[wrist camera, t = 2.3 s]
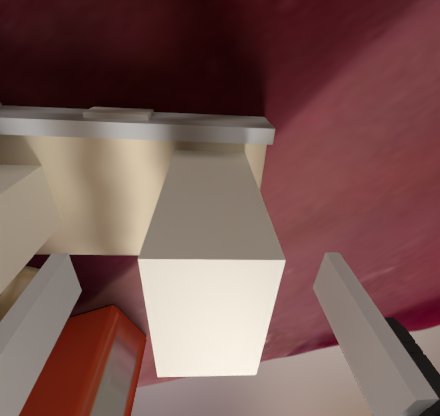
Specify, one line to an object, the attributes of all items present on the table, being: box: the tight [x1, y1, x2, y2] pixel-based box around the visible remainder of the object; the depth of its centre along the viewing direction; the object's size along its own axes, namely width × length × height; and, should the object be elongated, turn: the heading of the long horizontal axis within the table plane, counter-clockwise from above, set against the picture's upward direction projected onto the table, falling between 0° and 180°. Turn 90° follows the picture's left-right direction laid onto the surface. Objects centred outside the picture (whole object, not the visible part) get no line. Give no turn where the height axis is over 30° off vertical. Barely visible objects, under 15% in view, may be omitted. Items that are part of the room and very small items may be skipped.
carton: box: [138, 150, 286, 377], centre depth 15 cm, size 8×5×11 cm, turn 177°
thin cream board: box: [0, 103, 275, 255], centre depth 19 cm, size 24×12×4 cm, turn 87°
